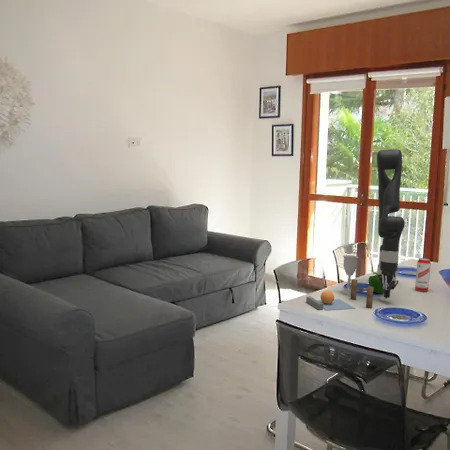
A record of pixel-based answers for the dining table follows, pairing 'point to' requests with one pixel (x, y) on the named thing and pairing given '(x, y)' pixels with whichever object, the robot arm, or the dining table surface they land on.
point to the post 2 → (369, 297)
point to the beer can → (422, 275)
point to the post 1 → (353, 289)
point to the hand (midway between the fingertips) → (386, 297)
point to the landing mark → (336, 305)
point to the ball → (327, 297)
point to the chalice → (349, 269)
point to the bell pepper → (375, 283)
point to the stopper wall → (314, 303)
